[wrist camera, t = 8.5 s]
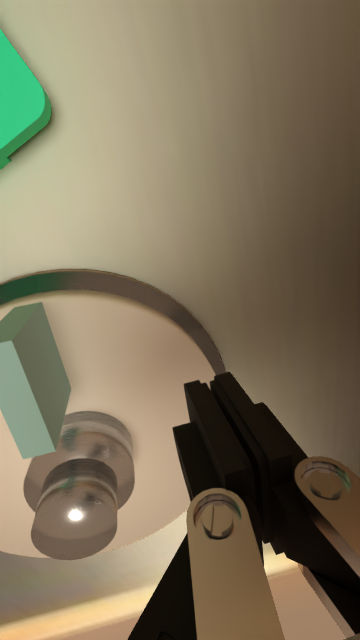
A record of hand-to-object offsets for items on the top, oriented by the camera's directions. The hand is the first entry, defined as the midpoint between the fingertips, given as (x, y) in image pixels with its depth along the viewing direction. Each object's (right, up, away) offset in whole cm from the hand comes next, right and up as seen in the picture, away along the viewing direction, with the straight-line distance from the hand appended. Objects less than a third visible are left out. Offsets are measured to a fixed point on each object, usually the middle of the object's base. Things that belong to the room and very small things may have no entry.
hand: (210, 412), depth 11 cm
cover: (-7, -5, +9) cm, 13 cm away
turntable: (-8, -4, +11) cm, 14 cm away
